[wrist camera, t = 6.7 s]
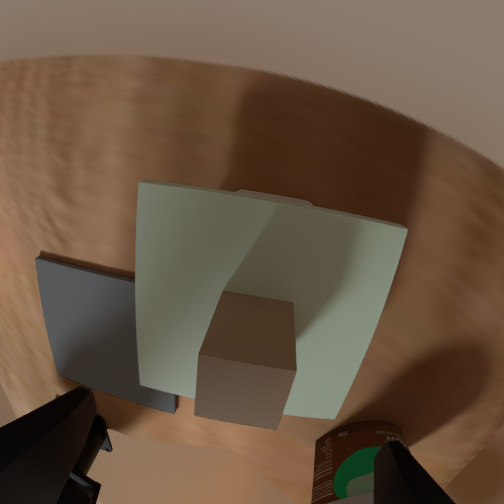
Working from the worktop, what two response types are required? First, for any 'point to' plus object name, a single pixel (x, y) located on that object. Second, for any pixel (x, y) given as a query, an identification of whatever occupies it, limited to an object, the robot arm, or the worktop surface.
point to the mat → (95, 331)
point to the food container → (350, 462)
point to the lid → (256, 300)
